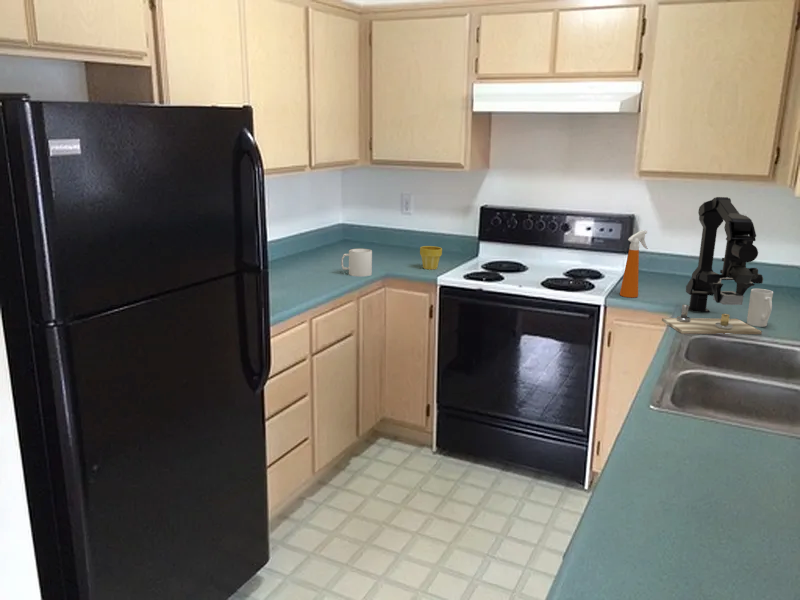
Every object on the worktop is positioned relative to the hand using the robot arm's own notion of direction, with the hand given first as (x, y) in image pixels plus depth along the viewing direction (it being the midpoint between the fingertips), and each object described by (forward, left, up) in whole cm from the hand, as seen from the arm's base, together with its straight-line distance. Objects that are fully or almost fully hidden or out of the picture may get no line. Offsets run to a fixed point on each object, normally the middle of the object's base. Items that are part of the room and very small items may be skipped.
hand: (727, 302), depth 218 cm
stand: (-8, -10, -10) cm, 16 cm away
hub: (0, 0, -9) cm, 9 cm away
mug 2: (-6, +16, -10) cm, 20 cm away
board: (-3, -3, -10) cm, 11 cm away
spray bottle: (-48, -12, -10) cm, 50 cm away
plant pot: (-97, -89, -10) cm, 132 cm away
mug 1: (-83, -123, -10) cm, 149 cm away
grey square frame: (0, 0, 0) cm, 0 cm away
